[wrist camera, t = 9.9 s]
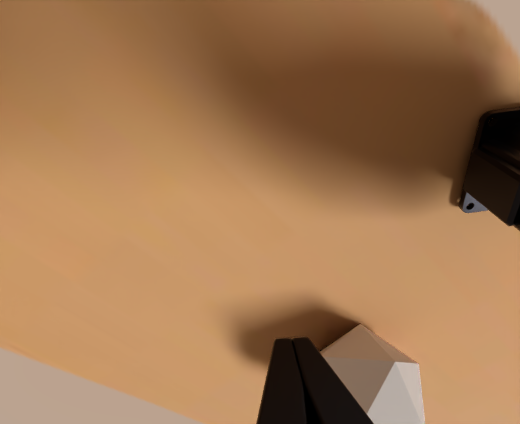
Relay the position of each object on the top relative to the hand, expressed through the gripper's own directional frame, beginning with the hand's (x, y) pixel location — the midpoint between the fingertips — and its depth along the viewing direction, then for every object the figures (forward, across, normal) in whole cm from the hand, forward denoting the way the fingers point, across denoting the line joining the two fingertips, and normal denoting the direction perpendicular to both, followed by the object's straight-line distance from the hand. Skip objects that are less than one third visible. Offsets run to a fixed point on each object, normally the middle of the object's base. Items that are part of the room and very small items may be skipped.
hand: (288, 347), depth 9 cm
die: (+13, -9, +18) cm, 24 cm away
